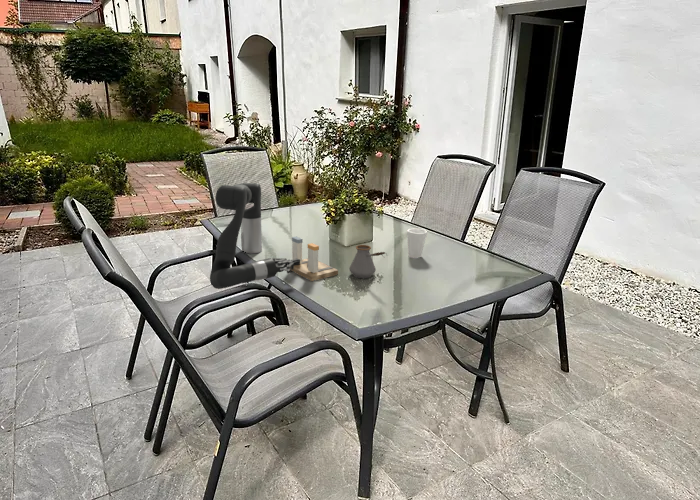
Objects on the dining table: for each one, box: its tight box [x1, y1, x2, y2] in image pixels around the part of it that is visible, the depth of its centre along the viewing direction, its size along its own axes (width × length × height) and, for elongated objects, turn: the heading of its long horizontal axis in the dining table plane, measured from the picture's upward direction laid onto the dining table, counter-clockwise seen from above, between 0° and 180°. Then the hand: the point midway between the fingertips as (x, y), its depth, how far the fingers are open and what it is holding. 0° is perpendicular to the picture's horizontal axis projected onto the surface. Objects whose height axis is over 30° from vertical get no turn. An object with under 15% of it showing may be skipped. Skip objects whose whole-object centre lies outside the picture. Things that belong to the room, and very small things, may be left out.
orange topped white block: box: [307, 242, 320, 273], centre depth 196 cm, size 2×5×12 cm, turn 40°
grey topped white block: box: [291, 236, 304, 264], centre depth 204 cm, size 2×5×12 cm, turn 40°
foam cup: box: [406, 228, 428, 259], centre depth 227 cm, size 10×9×13 cm
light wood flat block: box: [291, 257, 339, 282], centre depth 204 cm, size 14×20×3 cm
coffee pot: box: [348, 244, 388, 279], centre depth 196 cm, size 21×12×15 cm, turn 32°
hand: (299, 261), depth 191 cm, fingers closed
